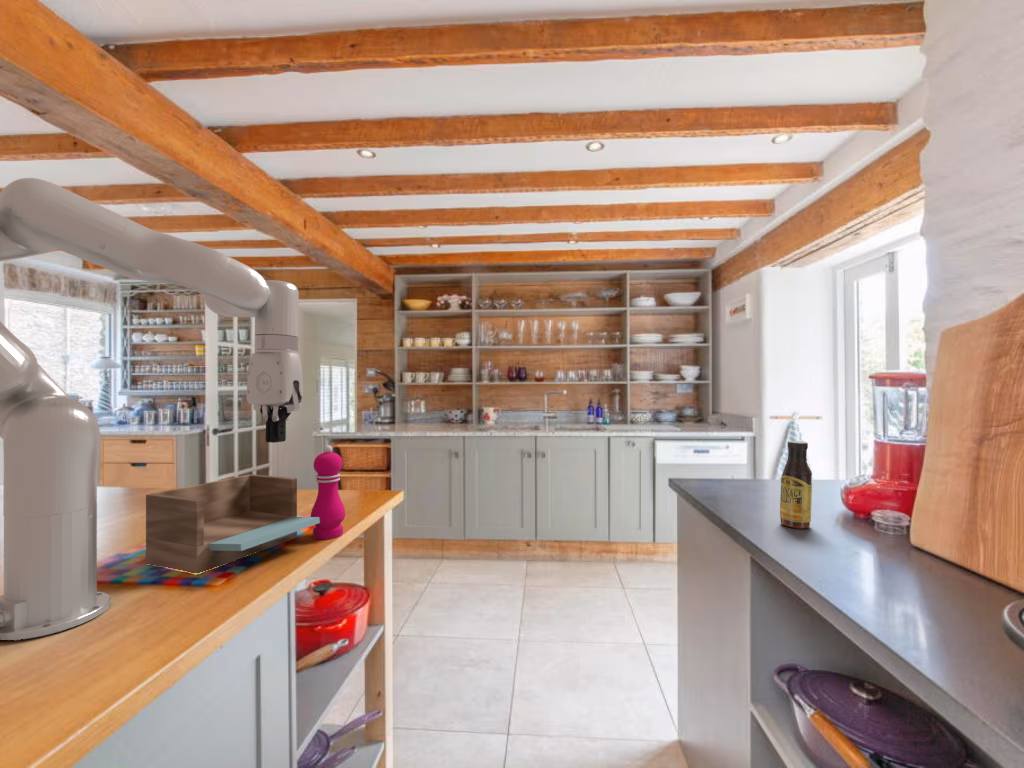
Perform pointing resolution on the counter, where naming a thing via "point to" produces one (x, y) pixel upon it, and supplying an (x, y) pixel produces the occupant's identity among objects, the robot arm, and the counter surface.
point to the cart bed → (214, 519)
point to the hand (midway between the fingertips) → (275, 441)
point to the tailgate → (264, 534)
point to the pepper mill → (328, 496)
